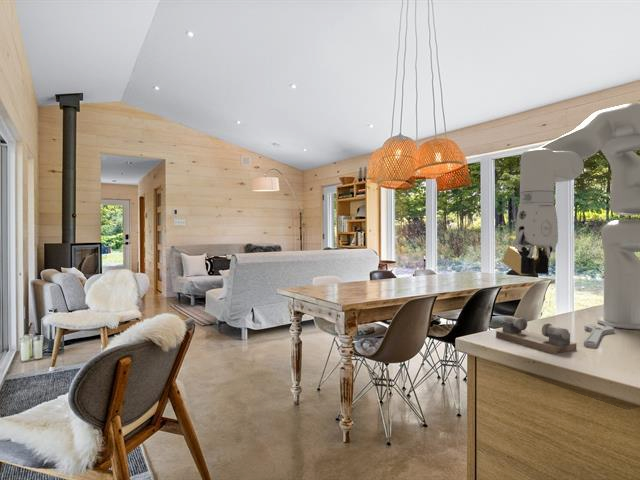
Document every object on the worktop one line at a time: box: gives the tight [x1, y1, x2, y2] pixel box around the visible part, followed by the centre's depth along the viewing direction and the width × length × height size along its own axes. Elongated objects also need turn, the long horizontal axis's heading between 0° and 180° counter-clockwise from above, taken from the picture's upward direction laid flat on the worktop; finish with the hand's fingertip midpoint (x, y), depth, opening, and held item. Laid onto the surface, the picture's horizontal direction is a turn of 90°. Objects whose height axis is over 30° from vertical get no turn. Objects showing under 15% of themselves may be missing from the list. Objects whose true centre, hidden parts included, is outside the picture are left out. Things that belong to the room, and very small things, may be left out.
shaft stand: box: [495, 315, 577, 355], centre depth 100 cm, size 8×16×6 cm, turn 25°
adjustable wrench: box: [583, 323, 615, 349], centre depth 107 cm, size 25×6×2 cm, turn 135°
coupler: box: [501, 246, 540, 276], centre depth 104 cm, size 4×4×7 cm
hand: (534, 273), depth 100 cm, fingers closed on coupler, 4 cm apart
